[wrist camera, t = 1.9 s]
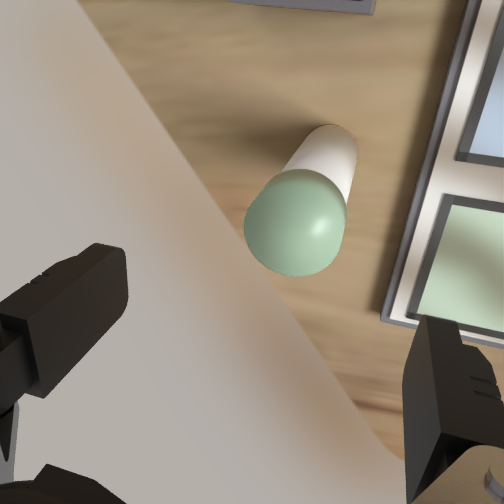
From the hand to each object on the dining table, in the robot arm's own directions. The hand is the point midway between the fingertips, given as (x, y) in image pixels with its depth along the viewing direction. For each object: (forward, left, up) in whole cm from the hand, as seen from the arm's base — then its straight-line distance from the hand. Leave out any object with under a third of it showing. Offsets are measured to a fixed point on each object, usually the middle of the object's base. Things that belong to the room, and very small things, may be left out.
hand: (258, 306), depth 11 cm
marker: (0, 0, -15) cm, 15 cm away
